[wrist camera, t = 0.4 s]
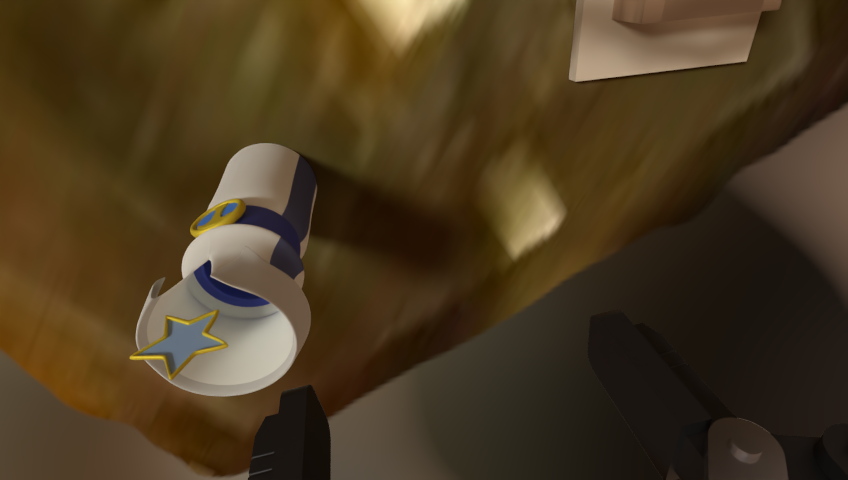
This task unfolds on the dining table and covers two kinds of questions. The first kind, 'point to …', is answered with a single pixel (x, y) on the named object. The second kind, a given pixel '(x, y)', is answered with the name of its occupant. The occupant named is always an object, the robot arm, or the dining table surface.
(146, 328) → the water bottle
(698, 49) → the collar board
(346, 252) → the dining table surface
